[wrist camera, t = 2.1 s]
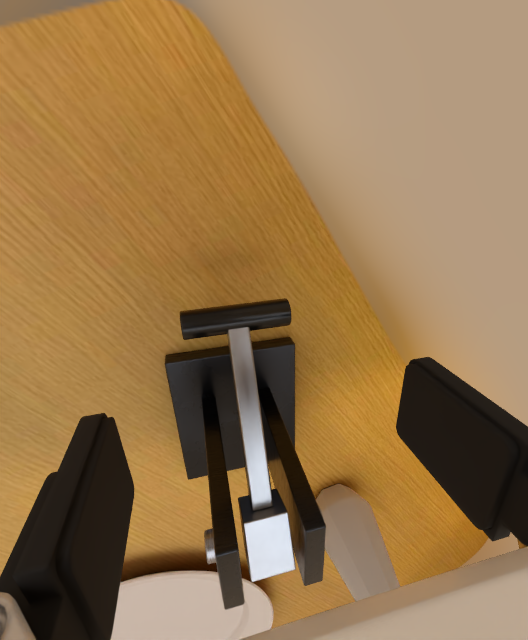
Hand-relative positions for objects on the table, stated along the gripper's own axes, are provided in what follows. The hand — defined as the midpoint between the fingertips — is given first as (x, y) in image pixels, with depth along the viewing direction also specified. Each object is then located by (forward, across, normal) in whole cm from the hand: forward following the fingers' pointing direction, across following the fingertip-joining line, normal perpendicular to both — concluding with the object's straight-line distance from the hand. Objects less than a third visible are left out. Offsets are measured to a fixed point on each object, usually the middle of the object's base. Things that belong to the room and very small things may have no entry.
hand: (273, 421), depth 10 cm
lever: (+6, 0, +5) cm, 8 cm away
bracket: (+13, 0, +9) cm, 16 cm away
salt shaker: (+13, -9, +23) cm, 28 cm away
